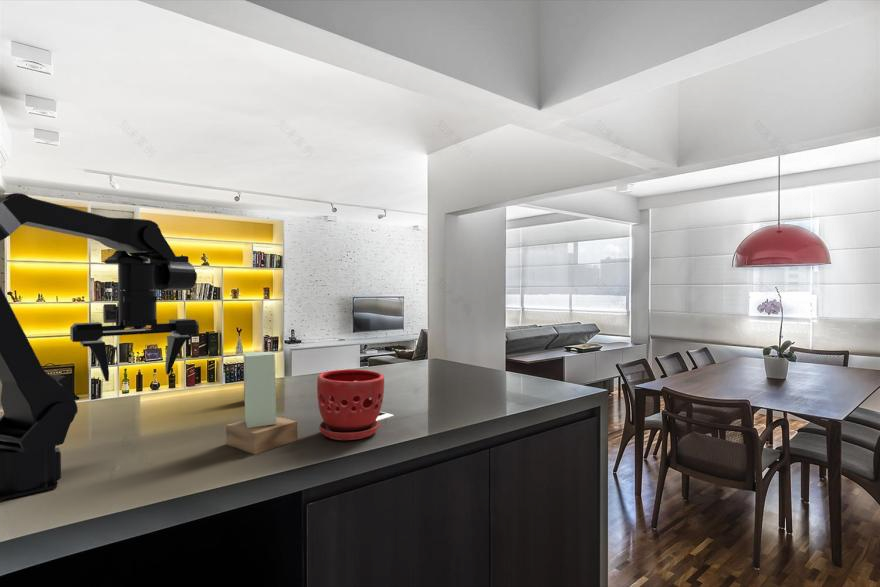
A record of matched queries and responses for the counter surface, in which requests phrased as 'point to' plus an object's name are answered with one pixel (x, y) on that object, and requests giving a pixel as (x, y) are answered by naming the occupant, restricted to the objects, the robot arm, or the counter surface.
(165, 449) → the counter surface
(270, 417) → the sage block
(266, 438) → the tan block
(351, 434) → the plant pot
